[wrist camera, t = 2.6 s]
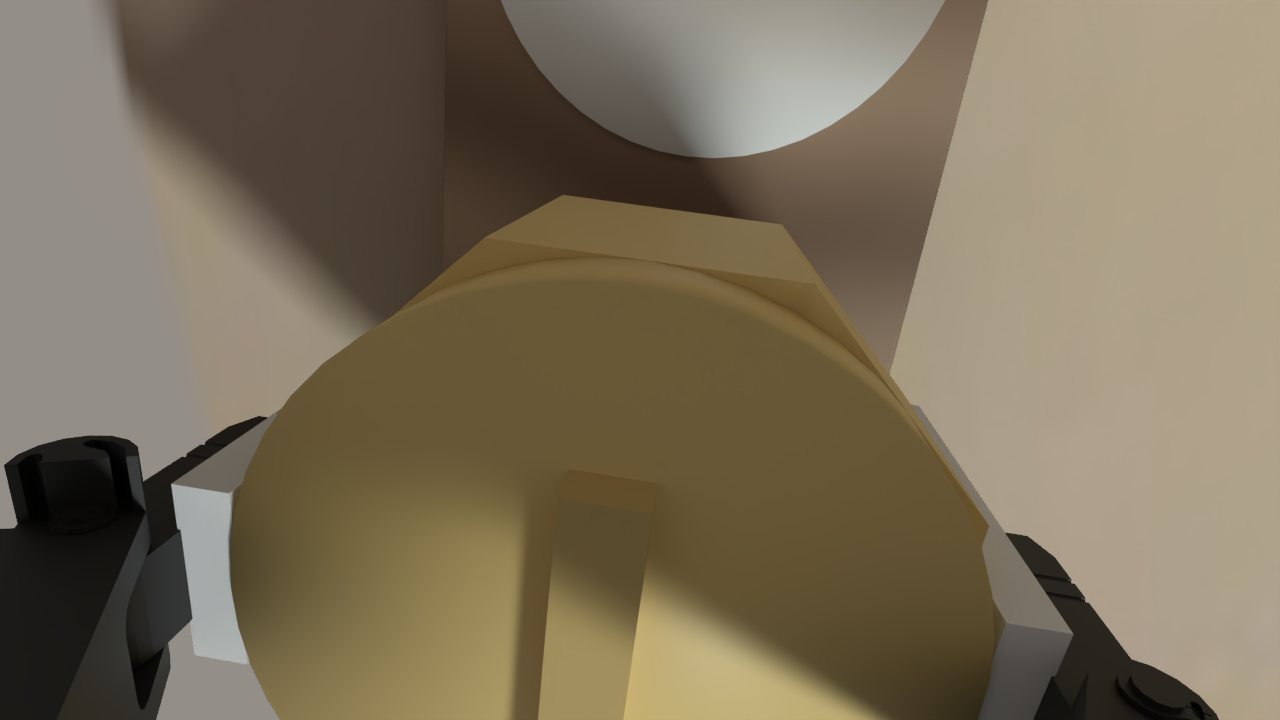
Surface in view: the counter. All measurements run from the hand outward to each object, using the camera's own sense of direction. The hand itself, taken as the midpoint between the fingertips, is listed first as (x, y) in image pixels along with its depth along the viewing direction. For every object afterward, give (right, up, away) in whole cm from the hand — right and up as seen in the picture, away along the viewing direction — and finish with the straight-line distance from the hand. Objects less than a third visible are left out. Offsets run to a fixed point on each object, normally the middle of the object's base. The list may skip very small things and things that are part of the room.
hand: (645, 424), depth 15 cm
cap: (0, 0, -1) cm, 1 cm away
